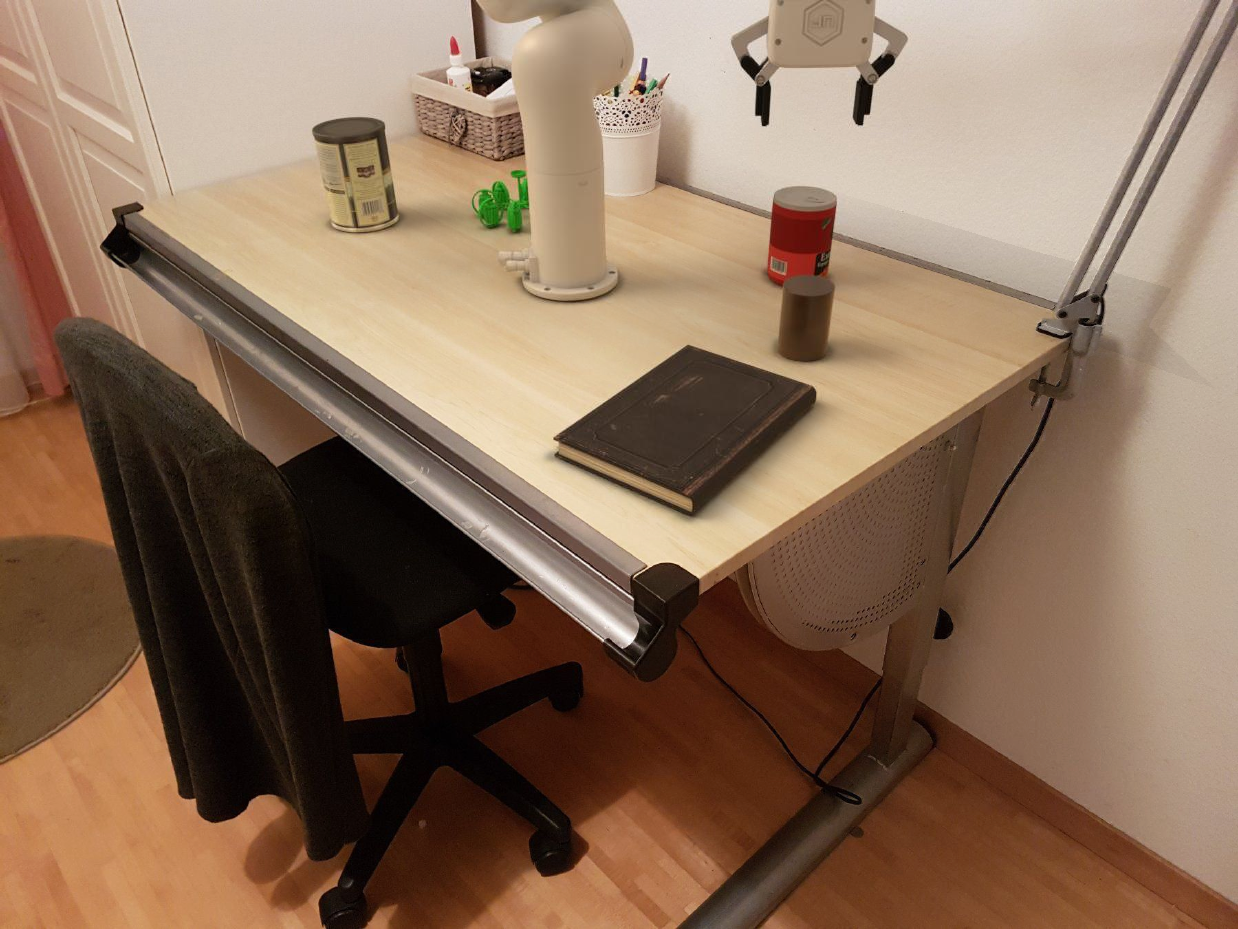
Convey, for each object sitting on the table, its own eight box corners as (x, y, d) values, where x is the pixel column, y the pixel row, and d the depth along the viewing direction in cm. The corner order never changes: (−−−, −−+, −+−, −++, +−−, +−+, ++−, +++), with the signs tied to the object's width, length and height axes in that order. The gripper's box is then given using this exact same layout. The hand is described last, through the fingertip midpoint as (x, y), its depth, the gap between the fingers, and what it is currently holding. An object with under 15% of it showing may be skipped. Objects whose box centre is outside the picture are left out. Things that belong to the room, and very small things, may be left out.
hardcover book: (554, 456, 88) (553, 436, 87) (687, 362, 103) (687, 344, 102) (693, 518, 80) (694, 497, 79) (815, 406, 95) (817, 387, 94)
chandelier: (576, 201, 146) (574, 157, 142) (563, 236, 134) (561, 190, 130) (483, 199, 148) (479, 156, 144) (462, 234, 135) (457, 188, 131)
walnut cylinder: (781, 362, 103) (788, 296, 98) (773, 338, 108) (779, 275, 103) (831, 361, 103) (840, 295, 98) (821, 337, 108) (829, 274, 103)
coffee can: (365, 204, 146) (349, 112, 138) (413, 216, 142) (399, 122, 134) (315, 224, 139) (296, 129, 131) (364, 237, 135) (347, 140, 127)
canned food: (826, 291, 118) (837, 207, 112) (764, 286, 119) (771, 204, 113) (827, 267, 124) (837, 187, 118) (768, 263, 125) (775, 183, 119)
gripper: (735, -59, 84) (728, 133, 94) (929, -64, 83) (901, 131, 92) (733, -67, 90) (727, 114, 100) (914, -72, 89) (889, 112, 98)
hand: (810, 122), depth 96 cm, fingers open, 9 cm apart
